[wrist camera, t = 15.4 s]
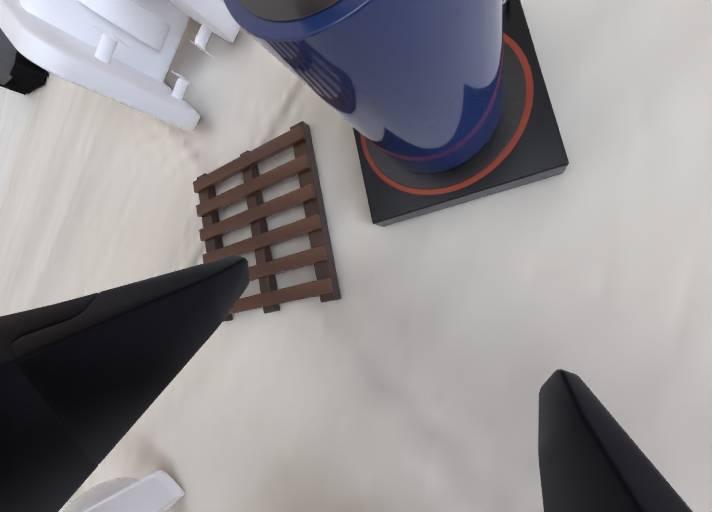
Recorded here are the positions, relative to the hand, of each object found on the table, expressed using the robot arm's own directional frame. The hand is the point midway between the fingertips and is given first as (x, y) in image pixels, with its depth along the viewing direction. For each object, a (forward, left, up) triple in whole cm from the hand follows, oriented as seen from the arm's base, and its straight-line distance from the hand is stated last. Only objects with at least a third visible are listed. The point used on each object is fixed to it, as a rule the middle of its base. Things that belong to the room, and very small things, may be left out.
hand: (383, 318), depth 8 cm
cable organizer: (+26, +19, -10) cm, 34 cm away
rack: (+7, +13, -10) cm, 18 cm away
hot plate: (+10, -2, -10) cm, 14 cm away
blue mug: (+11, -2, -8) cm, 14 cm away
